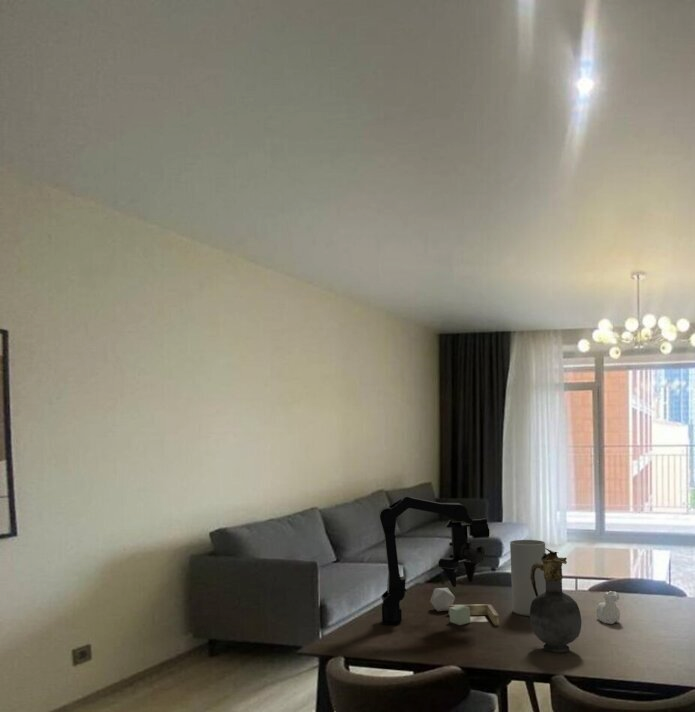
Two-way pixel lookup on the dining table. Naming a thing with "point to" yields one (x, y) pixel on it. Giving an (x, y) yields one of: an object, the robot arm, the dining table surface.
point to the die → (442, 599)
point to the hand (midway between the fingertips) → (462, 584)
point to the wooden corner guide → (481, 613)
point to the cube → (459, 614)
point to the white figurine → (609, 608)
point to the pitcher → (554, 607)
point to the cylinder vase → (525, 573)
